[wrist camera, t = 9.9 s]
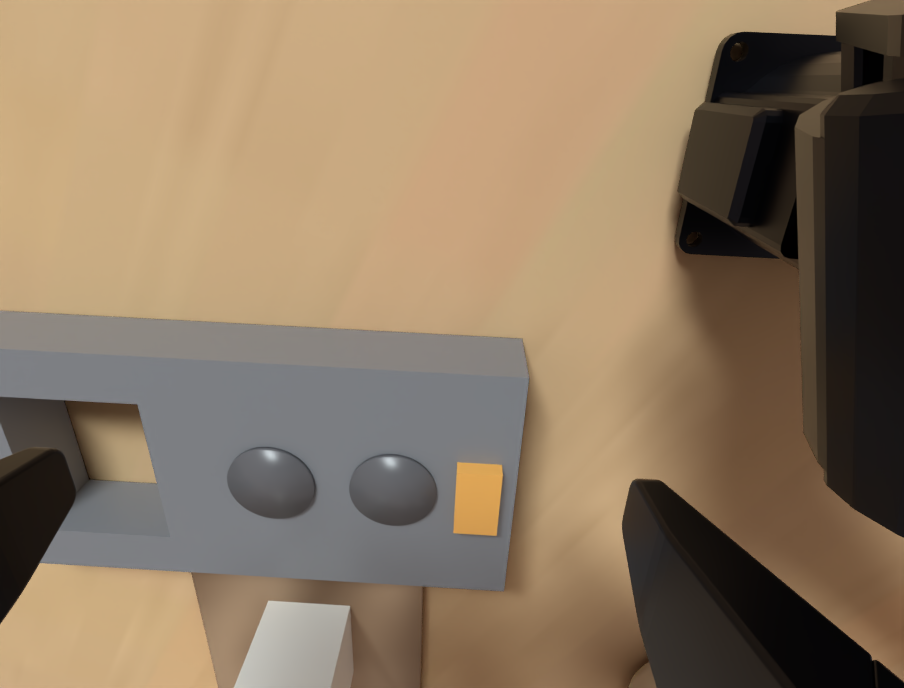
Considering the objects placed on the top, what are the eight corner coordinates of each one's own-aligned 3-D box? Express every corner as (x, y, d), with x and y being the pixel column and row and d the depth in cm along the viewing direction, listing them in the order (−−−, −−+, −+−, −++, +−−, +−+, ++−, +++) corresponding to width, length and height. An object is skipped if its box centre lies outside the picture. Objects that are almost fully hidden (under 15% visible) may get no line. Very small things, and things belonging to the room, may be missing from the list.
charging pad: (423, 555, 26) (422, 565, 25) (420, 698, 30) (419, 710, 30) (192, 541, 26) (186, 551, 25) (224, 686, 31) (220, 697, 30)
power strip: (522, 338, 21) (530, 387, 17) (500, 536, 25) (504, 604, 22) (-52, 308, 21) (-148, 349, 18) (26, 507, 25) (-39, 570, 22)
